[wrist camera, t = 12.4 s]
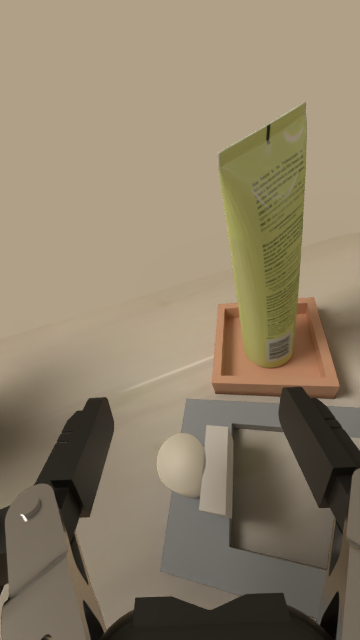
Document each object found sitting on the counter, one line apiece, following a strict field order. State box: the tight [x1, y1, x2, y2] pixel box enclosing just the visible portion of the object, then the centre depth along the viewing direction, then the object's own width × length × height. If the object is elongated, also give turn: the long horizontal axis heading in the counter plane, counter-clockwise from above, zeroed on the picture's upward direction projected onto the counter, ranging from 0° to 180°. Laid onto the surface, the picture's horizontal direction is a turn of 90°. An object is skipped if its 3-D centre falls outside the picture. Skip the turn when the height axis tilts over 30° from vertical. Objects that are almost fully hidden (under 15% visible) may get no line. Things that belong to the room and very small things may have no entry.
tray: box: [212, 297, 340, 399], centre depth 25 cm, size 11×11×2 cm
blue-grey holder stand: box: [156, 399, 360, 618], centre depth 16 cm, size 17×12×5 cm
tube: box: [217, 101, 307, 368], centre depth 19 cm, size 6×5×20 cm
